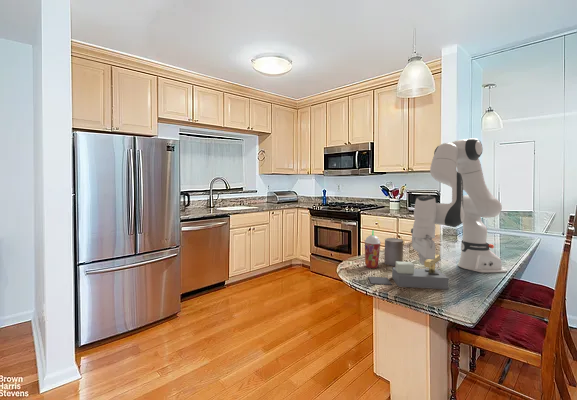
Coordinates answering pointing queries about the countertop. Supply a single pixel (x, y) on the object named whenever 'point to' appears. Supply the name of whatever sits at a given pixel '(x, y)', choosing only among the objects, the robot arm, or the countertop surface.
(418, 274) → the housing
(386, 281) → the mat
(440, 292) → the countertop surface
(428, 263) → the key
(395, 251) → the pillar candle
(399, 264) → the cover
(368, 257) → the smoothie
